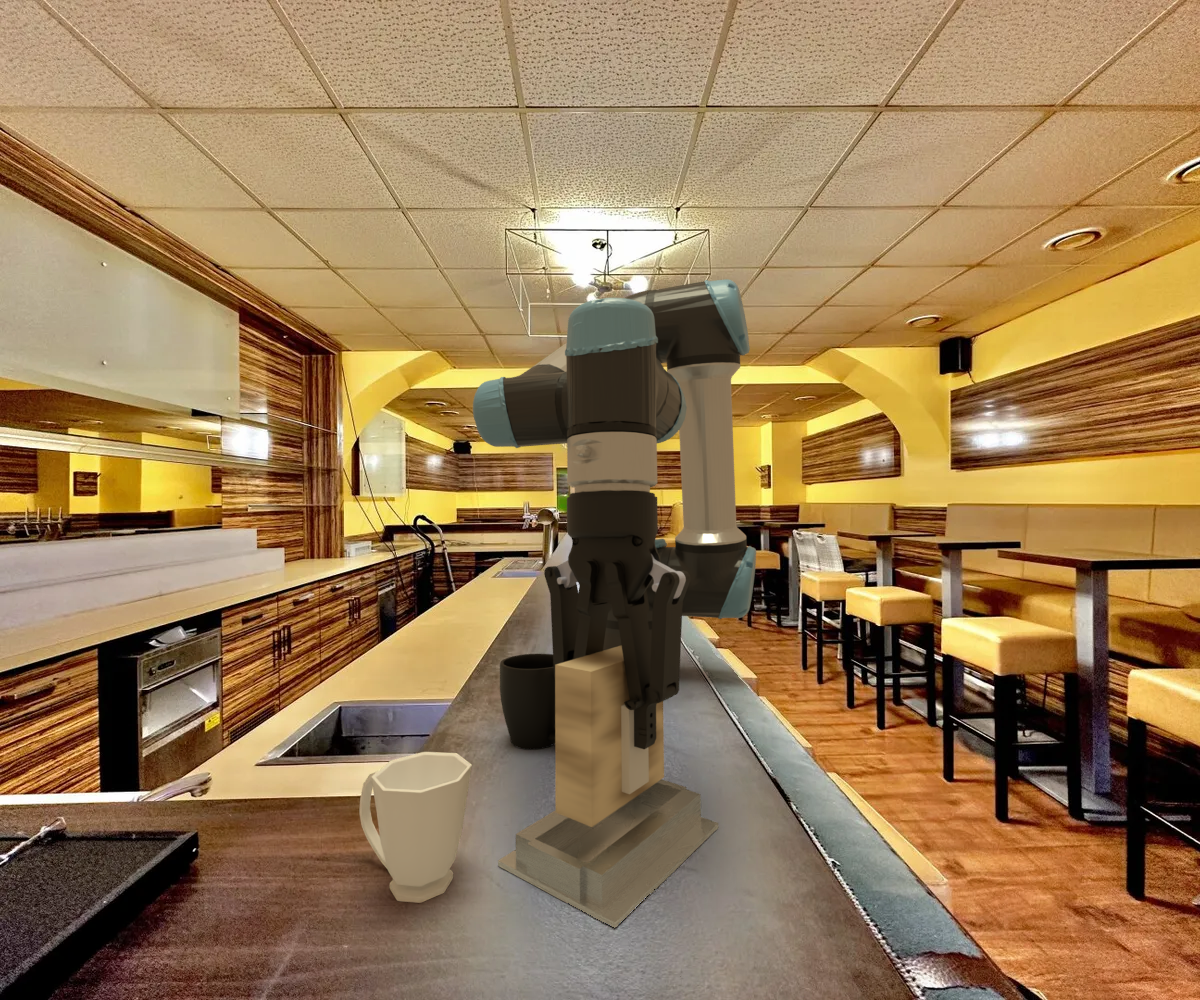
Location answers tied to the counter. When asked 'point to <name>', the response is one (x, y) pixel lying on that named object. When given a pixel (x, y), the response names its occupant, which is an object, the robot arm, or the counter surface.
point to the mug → (529, 699)
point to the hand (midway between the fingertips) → (613, 778)
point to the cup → (417, 820)
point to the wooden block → (595, 737)
